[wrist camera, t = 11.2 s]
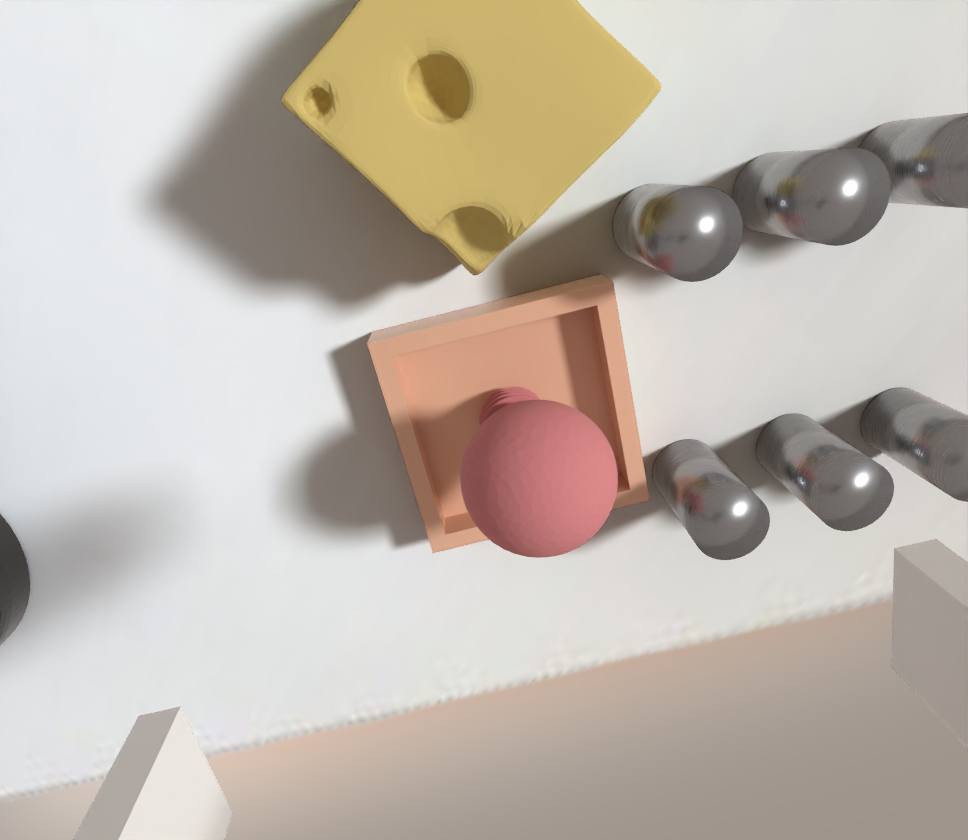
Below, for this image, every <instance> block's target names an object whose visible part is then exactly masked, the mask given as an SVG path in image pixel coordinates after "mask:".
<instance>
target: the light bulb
mask: <svg viewBox="0 0 968 840" xmlns="http://www.w3.org/2000/svg"><path fill="white" fill-rule="evenodd" d="M479 423H480V427H479V428H478V429H477V430H476V432H475V433H474V434H473V436H472V438H471V440H470V441H469V443H468V445H467V447H466V450H465V453H464V456H463V459H462V465H461V471H460V484H461V492H462V496H463V500H464V503H465V506H466V509H467V511H468V513H469V515H470V517H471V518H472V520H473V522H474V523H475V525H476V526H477V527H478V528H479V530H480V531H481V532H482V533H483V534H484V535H485V536H486V537H487V538H488V539H490V540H491V541H492V542H493V543H495V544H496V545H498V546H500V547H501V548H503V549H505V550H507V551H510V552H512V553H515V554H518V555H523V556H527V557H551V556H556V555H561V554H564V553H567V552H570V551H572V550H574V549H576V548H578V547H580V546H581V545H583V544H584V543H586V542H587V541H588V540H590V539H591V538H592V537H593V536H594V535H595V534H596V533H597V532H598V531H599V529H600V528H601V527H602V526H603V524H604V523H605V521H606V520H607V518H608V517H609V514H610V512H611V510H612V507H613V504H614V501H615V498H616V494H617V486H618V472H617V465H616V460H615V457H614V453H613V451H612V448H611V446H610V444H609V442H608V440H607V438H606V437H605V435H604V434H603V433H602V431H601V430H600V428H599V427H598V426H597V425H596V424H595V423H594V422H593V421H592V420H591V419H589V418H588V417H587V416H586V415H584V414H583V413H581V412H580V411H578V410H576V409H574V408H572V407H570V406H568V405H565V404H562V403H559V402H555V401H549V400H540V399H539V398H538V396H537V395H536V394H535V393H533V392H532V391H530V390H529V389H525V388H522V387H509V388H504V389H501V390H499V391H497V392H495V393H493V394H492V395H491V396H490V397H489V398H488V399H487V400H486V401H485V403H484V405H483V407H482V409H481V413H480V419H479Z"/></svg>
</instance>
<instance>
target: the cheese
mask: <svg viewBox="0 0 968 840" xmlns="http://www.w3.org/2000/svg"><path fill="white" fill-rule="evenodd" d="M660 89H661V84H660V82H659V81H658V80H657V79H656V78H655V77H654V76H653V75H652V74H651V73H650V72H649V71H648V70H647V69H646V68H645V67H644V66H643V65H642V64H641V63H640V62H639V61H638V60H637V59H636V58H635V57H634V56H633V55H632V54H631V53H630V52H629V51H628V50H627V49H626V48H624V47H623V46H622V45H621V44H620V43H619V42H618V41H617V40H616V39H615V38H614V37H613V36H612V35H611V34H609V33H608V32H607V31H606V30H605V29H604V28H603V27H602V26H601V25H600V24H599V23H598V22H597V21H596V20H595V19H594V18H593V17H592V16H591V15H590V14H589V13H588V12H587V11H586V10H585V9H584V8H583V6H582V5H581V4H580V3H579V2H578V1H577V0H359V2H358V3H357V4H356V6H355V7H354V8H353V10H352V11H351V12H350V14H349V15H348V16H347V18H346V19H345V20H344V21H343V23H342V24H341V25H340V26H339V28H338V29H337V30H336V32H335V33H334V34H333V35H332V37H331V38H330V39H329V40H328V41H327V43H326V44H325V45H324V46H323V47H322V49H321V50H320V51H319V52H318V53H317V54H316V56H315V57H314V58H313V59H312V60H311V61H310V63H309V64H308V65H307V66H306V67H305V68H304V70H303V71H302V72H301V73H300V74H299V76H298V77H297V78H296V79H295V81H294V82H293V83H292V84H291V85H290V86H289V88H288V89H287V90H286V91H285V93H284V94H283V95H282V98H281V101H282V103H283V105H284V106H285V107H286V108H287V109H288V110H289V111H290V112H291V113H293V114H294V115H295V116H296V117H297V118H298V119H299V120H300V121H301V122H303V123H304V124H305V125H306V126H307V127H308V128H309V129H311V130H312V131H313V132H314V133H315V134H316V135H318V136H319V137H320V138H321V139H322V140H323V141H324V142H326V143H327V144H328V145H329V146H330V147H331V148H332V149H334V150H335V151H336V152H337V153H338V154H339V155H340V156H342V157H343V158H344V159H345V160H346V161H347V162H348V163H350V164H351V165H352V166H353V167H354V168H355V169H356V170H358V171H359V172H360V173H361V174H362V175H363V176H364V177H365V178H366V179H367V180H369V181H370V182H371V183H372V184H373V185H374V186H375V187H376V188H377V189H378V190H379V191H380V192H382V193H383V194H384V195H385V196H386V197H387V198H388V199H389V200H390V201H391V202H392V203H393V204H394V205H395V206H396V207H397V208H398V209H399V210H400V211H401V212H402V213H403V214H404V215H405V216H406V217H407V218H408V219H409V220H410V221H411V222H412V223H413V224H414V225H415V226H416V227H418V228H419V229H420V230H421V231H422V232H424V233H427V234H429V235H432V236H434V237H435V238H437V239H438V240H439V241H440V242H441V243H442V244H443V245H444V246H445V247H446V248H447V249H448V250H449V251H450V252H451V253H452V254H453V255H454V256H455V257H456V258H457V259H458V260H459V261H460V263H461V264H462V265H463V266H464V267H465V268H466V269H467V270H468V271H469V272H470V273H471V274H473V275H478V274H480V273H481V272H482V271H483V270H485V268H486V267H487V266H488V265H489V264H490V263H491V262H492V261H493V260H494V259H495V257H496V256H497V255H498V254H499V253H500V252H501V251H503V250H504V249H505V248H506V247H507V246H509V245H510V244H511V243H512V242H513V241H514V240H515V239H517V238H518V237H519V236H520V235H521V234H522V233H523V232H525V231H526V230H527V229H528V228H529V227H530V226H531V225H532V224H533V223H534V222H535V221H536V220H537V219H538V218H539V217H541V216H542V214H543V213H544V212H545V211H546V210H547V209H548V208H549V207H550V206H551V205H552V204H553V203H554V202H555V201H556V200H557V199H558V198H559V197H560V196H561V195H562V194H563V193H564V192H565V191H566V190H567V189H568V188H569V187H570V186H571V185H572V184H573V183H574V182H575V181H576V180H577V179H578V178H579V177H580V176H581V175H582V174H583V173H584V172H585V171H586V170H587V169H588V168H589V167H590V166H591V165H592V164H593V163H594V162H595V161H596V160H597V159H598V158H599V157H600V156H601V155H602V154H603V153H604V152H605V151H606V150H607V149H609V148H610V147H611V146H612V145H613V144H614V143H615V142H616V141H617V140H618V139H619V138H620V137H621V136H622V135H623V134H624V133H625V131H626V130H627V129H628V128H629V127H630V126H631V125H632V124H633V123H634V122H635V121H636V119H637V118H638V117H639V116H640V115H641V114H642V113H643V111H644V110H645V109H646V108H647V107H648V105H649V104H650V103H651V102H652V100H653V99H654V98H655V97H656V95H657V94H658V93H659V91H660Z"/></svg>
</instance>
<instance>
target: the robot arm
mask: <svg viewBox="0 0 968 840" xmlns="http://www.w3.org/2000/svg"><path fill="white" fill-rule="evenodd" d="M29 591H30V579H29V571H28V565H27V562H26V558H25V555H24V552H23V550H22V547H21V545H20V543H19V541H18V539H17V537H16V535H15V534H14V532H13V531H12V529H11V527H10V526H9V525H8V523H7V522H6V521H5V519H4V518H3V517H2V516H1V514H0V645H1V644H2V643H3V642H4V641H5V640H6V639H7V638H8V637H9V635H10V634H11V633H12V632H13V631H14V630H15V628H16V627H17V626H18V624H19V622H20V621H21V619H22V617H23V615H24V612H25V610H26V607H27V603H28V599H29ZM892 617H893V618H892V654H891V668H892V669H893V670H894V671H895V672H896V673H897V674H898V675H899V676H900V678H901V679H902V680H903V681H904V682H905V683H906V684H907V685H908V686H909V687H910V688H911V689H912V690H913V692H914V693H915V694H916V695H917V696H918V697H919V698H920V699H921V700H922V701H923V702H924V703H925V704H926V706H928V708H929V709H930V710H931V711H932V712H933V713H934V714H935V715H936V716H937V717H938V718H939V719H940V721H941V722H942V723H943V724H944V725H945V726H946V727H947V728H948V729H949V730H950V731H951V732H952V734H953V735H954V736H955V737H956V738H957V739H958V740H959V741H960V742H961V743H962V744H963V745H964V746H965V748H967V750H968V562H967V561H965V560H964V559H963V558H961V557H960V556H959V555H957V554H956V553H954V552H953V551H952V550H950V549H949V548H948V547H946V546H945V545H943V544H942V543H941V542H939V541H938V540H937V539H935V540H930V541H926V542H921V543H917V544H912V545H908V546H903V547H899V548H894V578H893V615H892ZM232 814H233V812H232V810H231V808H230V806H229V804H228V802H227V800H226V798H225V796H224V794H223V792H222V790H221V788H220V786H219V784H218V782H217V780H216V778H215V776H214V774H213V772H212V770H211V768H210V766H209V764H208V762H207V760H206V757H205V755H204V753H203V751H202V749H201V747H200V745H199V743H198V741H197V739H196V737H195V735H194V733H193V731H192V729H191V727H190V725H189V723H188V721H187V719H186V717H185V715H184V713H183V711H182V709H181V707H177V708H173V709H168V710H164V711H159V712H155V713H150V714H146V715H141V716H139V717H138V719H137V721H136V722H135V724H134V726H133V728H132V730H131V732H130V734H129V735H128V737H127V739H126V741H125V743H124V745H123V747H122V749H121V750H120V752H119V754H118V756H117V758H116V760H115V762H114V763H113V765H112V767H111V769H110V771H109V773H108V775H107V777H106V778H105V780H104V782H103V784H102V786H101V788H100V790H99V792H98V793H97V795H96V797H95V799H94V801H93V803H92V805H91V806H90V808H89V810H88V812H87V814H86V816H85V818H84V820H83V821H82V824H81V825H80V827H79V829H78V831H77V833H76V835H75V837H74V838H73V840H225V837H226V834H227V831H228V827H229V824H230V821H231V818H232Z"/></svg>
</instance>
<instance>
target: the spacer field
mask: <svg viewBox="0 0 968 840" xmlns="http://www.w3.org/2000/svg"><path fill="white" fill-rule="evenodd" d="M888 203H901V204H915V205H929V206H943V207H958V208H968V113H963V114H954V115H945V116H936V117H927V118H918V119H909V120H900V121H892V122H888V123H885V124H883V125H880V126H879V127H877V128H875V129H874V130H873V131H871V132H870V133H869V134H868V135H867V136H866V137H865V139H864V140H863V141H862V143H861V144H860V146H859V148H845V149H827V150H809V151H791V152H774V153H766V154H763V155H761V156H758V157H756V158H755V159H753V160H752V161H751V162H749V163H748V164H747V165H746V166H745V167H744V168H743V170H742V171H741V172H740V174H739V175H738V177H737V179H736V182H735V184H734V188H733V193H732V198H731V197H729V196H728V195H727V194H726V193H724V192H722V191H721V190H718V189H716V188H712V187H704V186H687V185H669V184H646V185H642V186H639V187H637V188H635V189H633V190H632V191H630V192H629V193H628V194H627V195H626V196H625V197H624V198H623V199H622V201H621V202H620V203H619V205H618V207H617V209H616V212H615V215H614V219H613V234H614V238H615V240H616V243H617V245H618V246H619V248H620V249H621V250H622V251H623V252H624V253H625V254H626V255H627V256H629V257H630V258H632V259H634V260H637V261H639V262H641V263H643V264H645V265H648V266H650V267H652V268H654V269H656V270H659V271H661V272H663V273H665V274H667V275H670V276H672V277H674V278H676V279H679V280H683V281H689V282H695V281H702V280H705V279H709V278H711V277H713V276H715V275H716V274H718V273H720V272H721V271H722V270H723V269H725V268H726V267H727V266H728V265H729V263H730V262H731V261H732V260H733V258H734V257H735V255H736V253H737V251H738V249H739V247H740V244H741V240H742V234H743V225H744V226H746V227H747V228H749V229H751V230H754V231H758V232H763V233H768V234H774V235H779V236H784V237H789V238H795V239H800V240H805V241H810V242H816V243H821V244H826V245H834V246H837V245H845V244H849V243H852V242H854V241H856V240H858V239H860V238H862V237H863V236H865V235H866V234H867V233H869V232H870V231H871V230H872V229H873V228H874V227H875V226H876V224H877V223H878V222H879V220H880V219H881V217H882V216H883V214H884V212H885V210H886V207H887V205H888ZM860 427H861V433H862V435H863V437H864V439H865V440H866V441H867V443H869V444H870V445H872V446H873V447H875V448H876V449H878V450H879V451H881V452H883V453H884V454H886V455H887V456H889V457H890V458H892V459H894V460H895V461H897V462H898V463H900V464H901V465H903V466H905V467H906V468H908V469H909V470H911V471H912V472H914V473H916V474H917V475H919V476H920V477H922V478H923V479H925V480H927V481H928V482H930V483H931V484H933V485H934V486H936V487H938V488H939V489H941V490H942V491H944V492H945V493H947V494H949V495H950V496H952V497H953V498H955V499H958V500H960V501H967V502H968V415H965V414H963V413H961V412H959V411H957V410H955V409H952V408H950V407H948V406H946V405H944V404H942V403H939V402H937V401H935V400H933V399H931V398H929V397H927V396H924V395H922V394H920V393H918V392H916V391H914V390H911V389H908V388H901V387H900V388H892V389H889V390H886V391H884V392H882V393H880V394H879V395H878V396H876V397H875V398H874V399H873V400H872V401H871V402H870V403H869V404H868V406H867V407H866V409H865V410H864V412H863V415H862V418H861V425H860ZM756 453H757V457H758V460H759V462H760V463H761V465H762V466H763V467H764V468H765V469H766V470H768V471H769V472H770V473H771V474H772V475H773V476H774V477H775V478H776V479H777V480H778V481H780V482H781V483H782V484H783V485H784V486H785V487H786V488H787V489H788V490H789V491H790V492H792V493H793V494H794V495H795V496H796V497H797V498H798V499H799V500H800V501H801V502H803V503H804V504H805V505H806V506H807V507H808V508H809V509H810V510H811V511H812V512H813V513H815V514H816V515H817V516H818V517H819V518H820V519H821V520H822V521H823V522H824V523H825V524H827V525H828V526H829V527H831V528H833V529H837V530H841V531H852V530H857V529H861V528H863V527H866V526H868V525H870V524H871V523H873V522H874V521H876V520H877V519H878V518H879V517H880V516H881V515H882V514H883V513H884V512H885V511H886V509H887V508H888V506H889V504H890V502H891V500H892V497H893V493H894V484H893V479H892V477H891V475H890V473H889V472H888V471H887V470H886V469H885V468H884V467H883V466H881V465H880V464H878V463H877V462H875V461H874V460H872V459H871V458H869V457H868V456H866V455H865V454H863V453H862V452H860V451H859V450H857V449H856V448H854V447H853V446H851V445H850V444H848V443H847V442H845V441H844V440H842V439H841V438H839V437H838V436H836V435H835V434H833V433H832V432H830V431H829V430H827V429H826V428H824V427H823V426H821V425H820V424H818V423H817V422H815V421H814V420H812V419H811V418H809V417H807V416H805V415H802V414H795V413H794V414H786V415H783V416H780V417H778V418H776V419H774V420H773V421H771V422H770V423H769V424H768V425H767V426H766V427H765V428H764V429H763V431H762V432H761V434H760V436H759V438H758V441H757V445H756ZM653 479H654V482H655V485H656V486H657V488H658V489H659V491H660V492H661V494H662V495H663V497H664V498H665V499H666V501H667V502H668V504H669V505H670V507H671V508H672V510H673V511H674V513H675V514H676V516H677V517H678V518H679V520H680V521H681V523H682V524H683V526H684V527H685V529H686V530H687V532H688V533H689V535H690V536H691V537H692V539H693V540H694V542H695V543H696V545H697V546H698V548H699V549H700V550H701V551H702V552H703V553H704V554H706V555H707V556H709V557H712V558H715V559H719V560H731V559H736V558H739V557H742V556H744V555H746V554H748V553H750V552H751V551H753V550H754V549H755V548H756V547H758V545H759V544H760V543H761V542H762V541H763V539H764V538H765V536H766V534H767V532H768V528H769V523H770V517H769V512H768V509H767V507H766V506H765V504H764V503H763V502H762V501H761V500H760V499H759V498H758V497H757V496H756V495H755V494H754V492H753V491H752V490H751V489H750V488H749V487H748V486H747V485H746V484H745V483H744V482H743V481H742V480H741V479H740V478H739V477H738V476H737V475H736V474H735V473H734V472H733V471H732V470H731V469H730V468H729V467H728V466H727V465H726V464H725V463H724V462H723V461H722V460H721V459H720V458H719V457H718V456H717V454H716V453H715V452H714V451H713V450H712V449H711V448H710V447H709V446H708V445H706V444H705V443H703V442H701V441H698V440H692V439H686V440H680V441H677V442H674V443H672V444H670V445H669V446H667V447H666V448H665V449H664V450H663V451H662V452H661V453H660V454H659V455H658V457H657V458H656V460H655V463H654V466H653Z"/></svg>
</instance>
